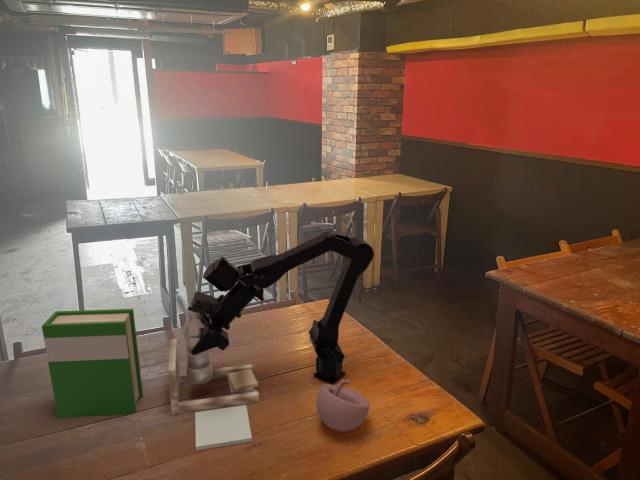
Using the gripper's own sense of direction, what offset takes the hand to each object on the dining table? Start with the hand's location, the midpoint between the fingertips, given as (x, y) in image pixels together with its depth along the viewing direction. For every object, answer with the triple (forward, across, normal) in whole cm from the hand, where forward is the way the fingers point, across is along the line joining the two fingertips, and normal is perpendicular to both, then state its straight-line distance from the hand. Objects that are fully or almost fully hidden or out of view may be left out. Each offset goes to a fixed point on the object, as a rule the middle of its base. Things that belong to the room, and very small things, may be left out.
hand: (192, 347), depth 121 cm
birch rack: (+6, 0, +13) cm, 14 cm away
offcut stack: (+2, 0, +18) cm, 18 cm away
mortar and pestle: (-13, +20, +33) cm, 41 cm away
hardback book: (+25, 0, -6) cm, 26 cm away
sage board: (+5, +15, +13) cm, 21 cm away
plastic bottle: (+6, 0, +8) cm, 10 cm away
